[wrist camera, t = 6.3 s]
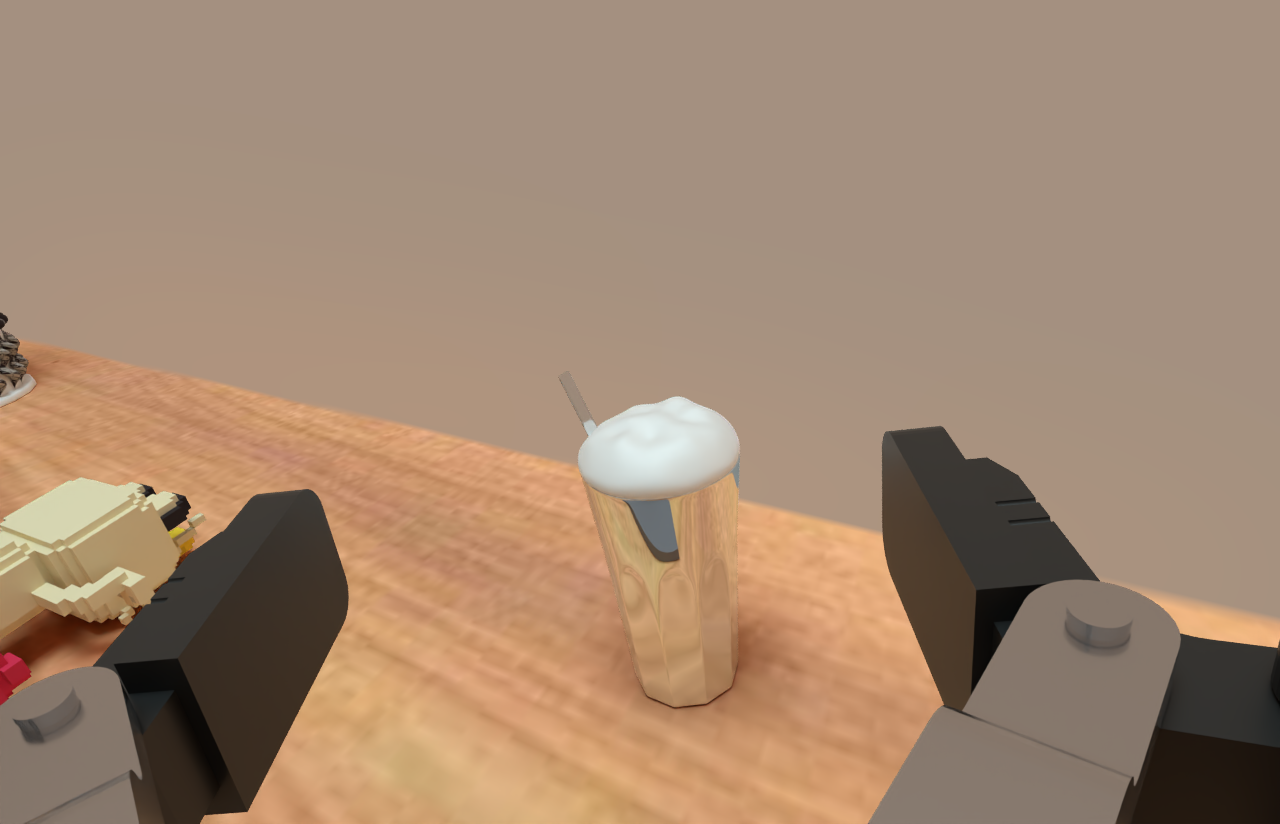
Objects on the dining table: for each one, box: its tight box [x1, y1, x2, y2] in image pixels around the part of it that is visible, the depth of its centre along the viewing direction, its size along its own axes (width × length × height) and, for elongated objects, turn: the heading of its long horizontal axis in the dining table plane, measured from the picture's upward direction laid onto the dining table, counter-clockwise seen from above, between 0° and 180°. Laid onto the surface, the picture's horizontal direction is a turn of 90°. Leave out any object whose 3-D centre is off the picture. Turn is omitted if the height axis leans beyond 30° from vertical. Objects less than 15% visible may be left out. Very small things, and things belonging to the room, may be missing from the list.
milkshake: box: [559, 371, 740, 707], centre depth 25 cm, size 4×5×10 cm
